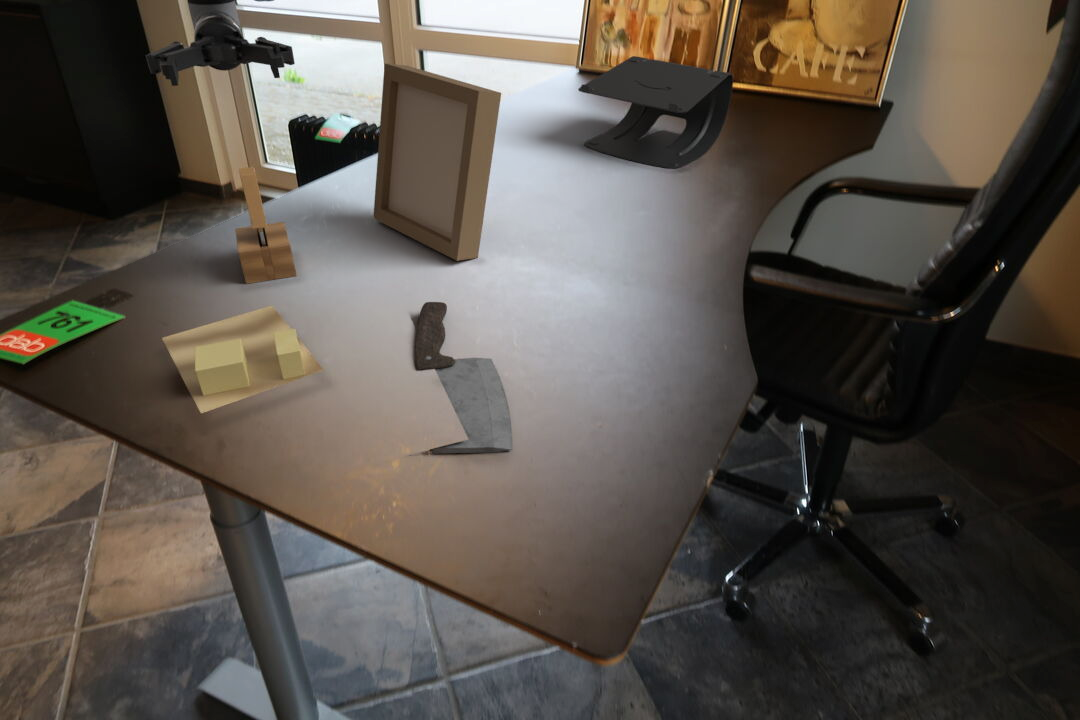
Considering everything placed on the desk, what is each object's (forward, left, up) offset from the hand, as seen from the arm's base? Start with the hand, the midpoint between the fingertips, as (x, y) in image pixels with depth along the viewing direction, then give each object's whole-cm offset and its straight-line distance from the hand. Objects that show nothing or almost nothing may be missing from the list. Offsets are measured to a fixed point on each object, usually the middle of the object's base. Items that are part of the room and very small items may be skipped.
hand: (225, 71), depth 99 cm
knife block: (+9, -2, -26) cm, 28 cm away
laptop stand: (0, +86, -26) cm, 90 cm away
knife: (+9, -2, -26) cm, 28 cm away
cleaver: (+49, +7, -26) cm, 56 cm away
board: (+32, -13, -26) cm, 44 cm away
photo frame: (+13, +27, -26) cm, 40 cm away
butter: (+37, -16, -25) cm, 47 cm away
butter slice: (+38, -9, -24) cm, 46 cm away
